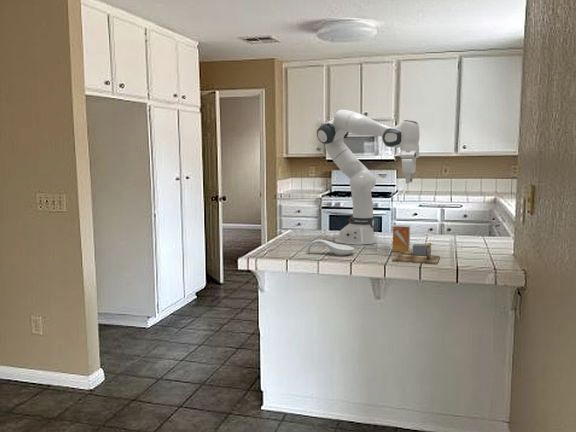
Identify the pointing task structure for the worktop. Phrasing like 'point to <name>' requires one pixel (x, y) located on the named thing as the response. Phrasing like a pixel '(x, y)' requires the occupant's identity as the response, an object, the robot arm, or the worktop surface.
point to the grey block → (419, 249)
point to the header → (417, 257)
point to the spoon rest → (333, 247)
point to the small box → (401, 238)
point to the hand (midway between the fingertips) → (409, 182)
